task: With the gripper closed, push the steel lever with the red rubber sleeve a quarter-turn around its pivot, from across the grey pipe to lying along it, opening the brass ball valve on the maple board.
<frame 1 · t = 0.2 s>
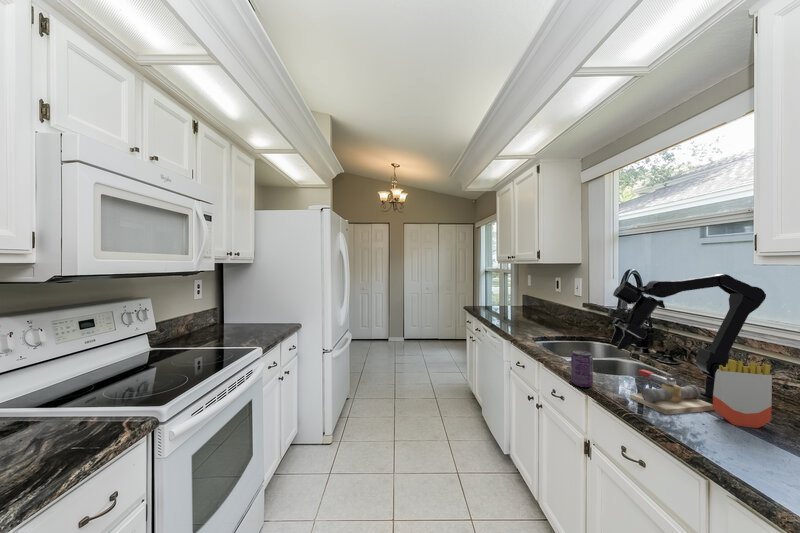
hand: (614, 346, 121), 15 cm above the worktop, tool tilted 30°, fingers open, 9 cm apart
valve board: (670, 404, 106), on the worktop
valve lever: (657, 376, 110), point 7 cm above the worktop, hinge at 0.0°
french fries container: (740, 423, 93), on the worktop
beverage can: (581, 385, 122), on the worktop
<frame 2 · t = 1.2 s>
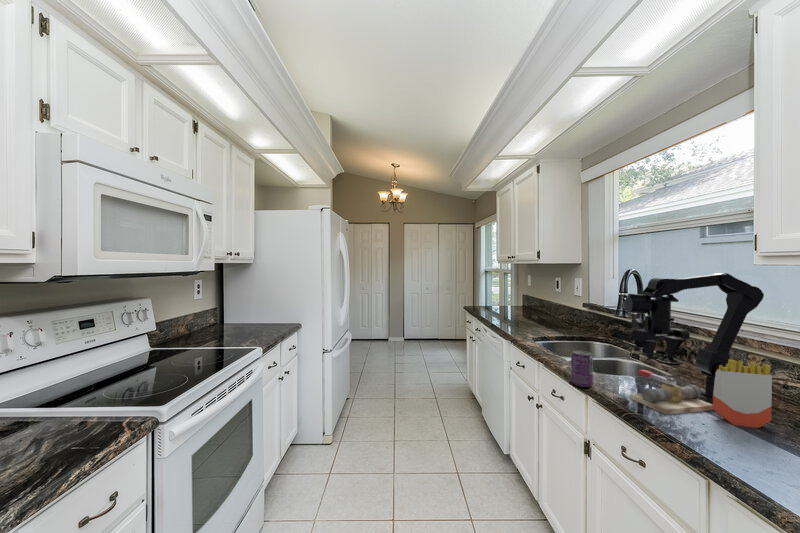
hand: (659, 358, 115), 12 cm above the worktop, tool pointing down, fingers open, 8 cm apart
nothing on the worktop moved.
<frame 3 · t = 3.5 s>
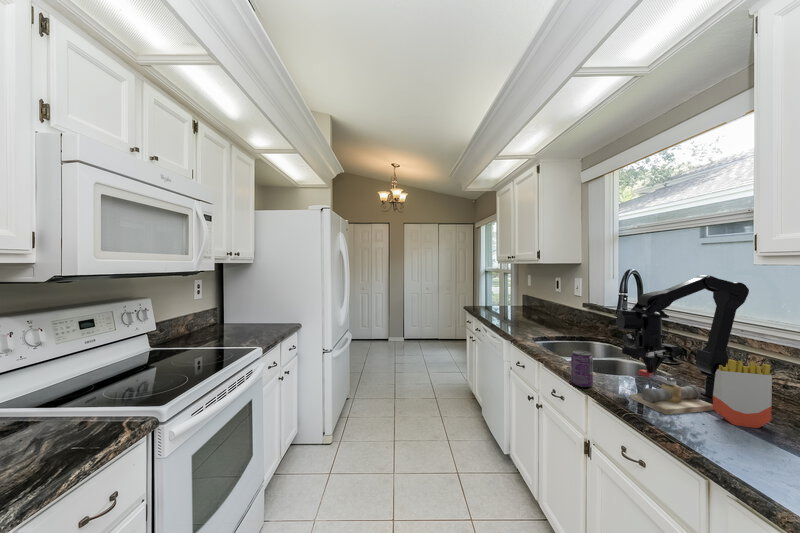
hand: (650, 374, 115), 6 cm above the worktop, tool pointing down, fingers closed
valve lever: (657, 376, 110), point 7 cm above the worktop, hinge at 0.3°, touching gripper
everything else where it was.
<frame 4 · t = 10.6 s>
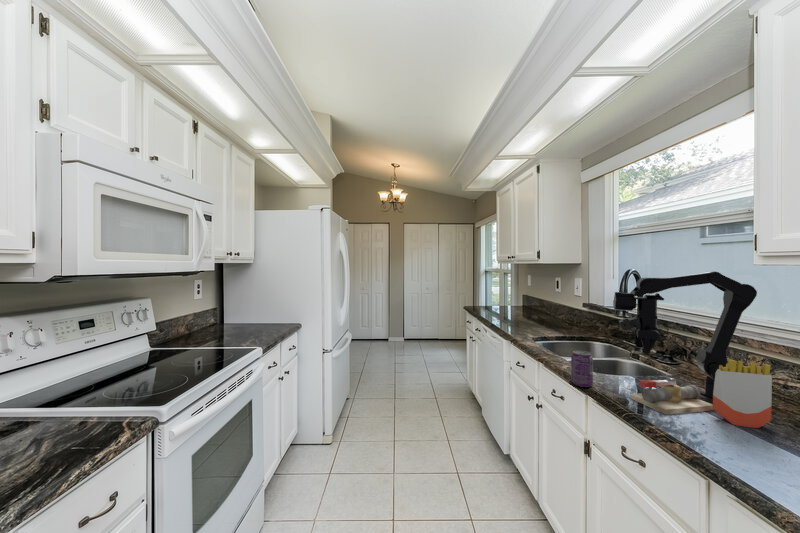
hand: (646, 354, 121), 12 cm above the worktop, tool pointing down, fingers closed
valve lever: (658, 382, 105), point 7 cm above the worktop, hinge at 87.5°
everything else where it was.
at the end: valve lever at +88° (first picture: +0°); french fries container moved 0.2 cm from its start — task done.
